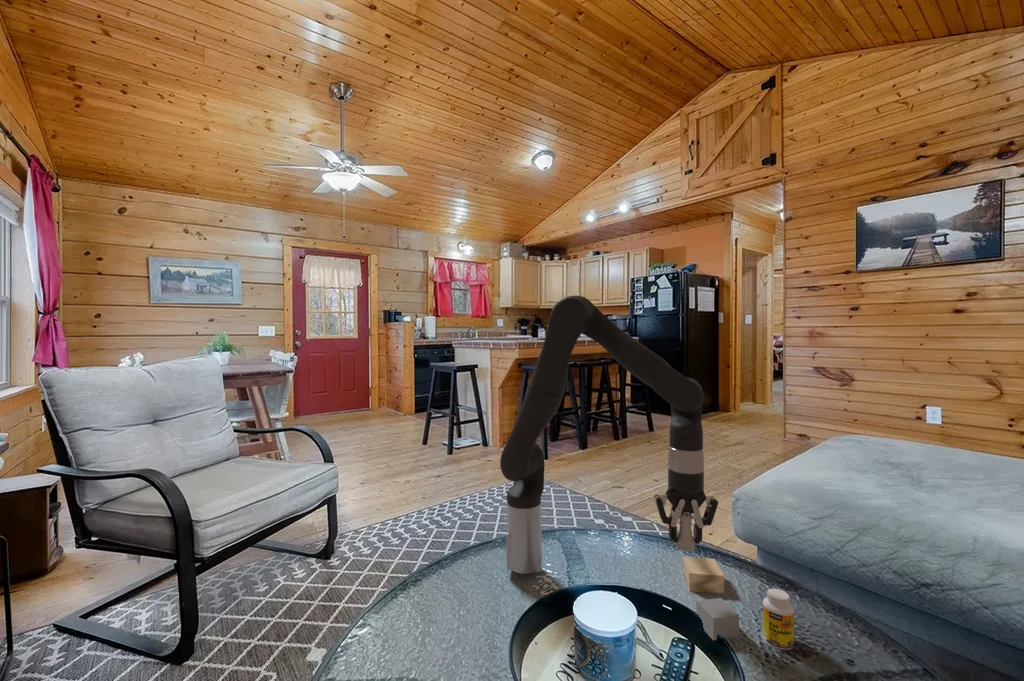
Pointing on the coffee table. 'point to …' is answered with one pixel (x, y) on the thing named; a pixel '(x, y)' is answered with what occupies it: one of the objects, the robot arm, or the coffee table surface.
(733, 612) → the slate block
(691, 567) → the oak block
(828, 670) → the coffee table surface
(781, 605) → the supplement bottle
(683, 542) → the rook chess piece
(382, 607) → the coffee table surface
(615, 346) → the robot arm
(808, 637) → the coffee table surface
